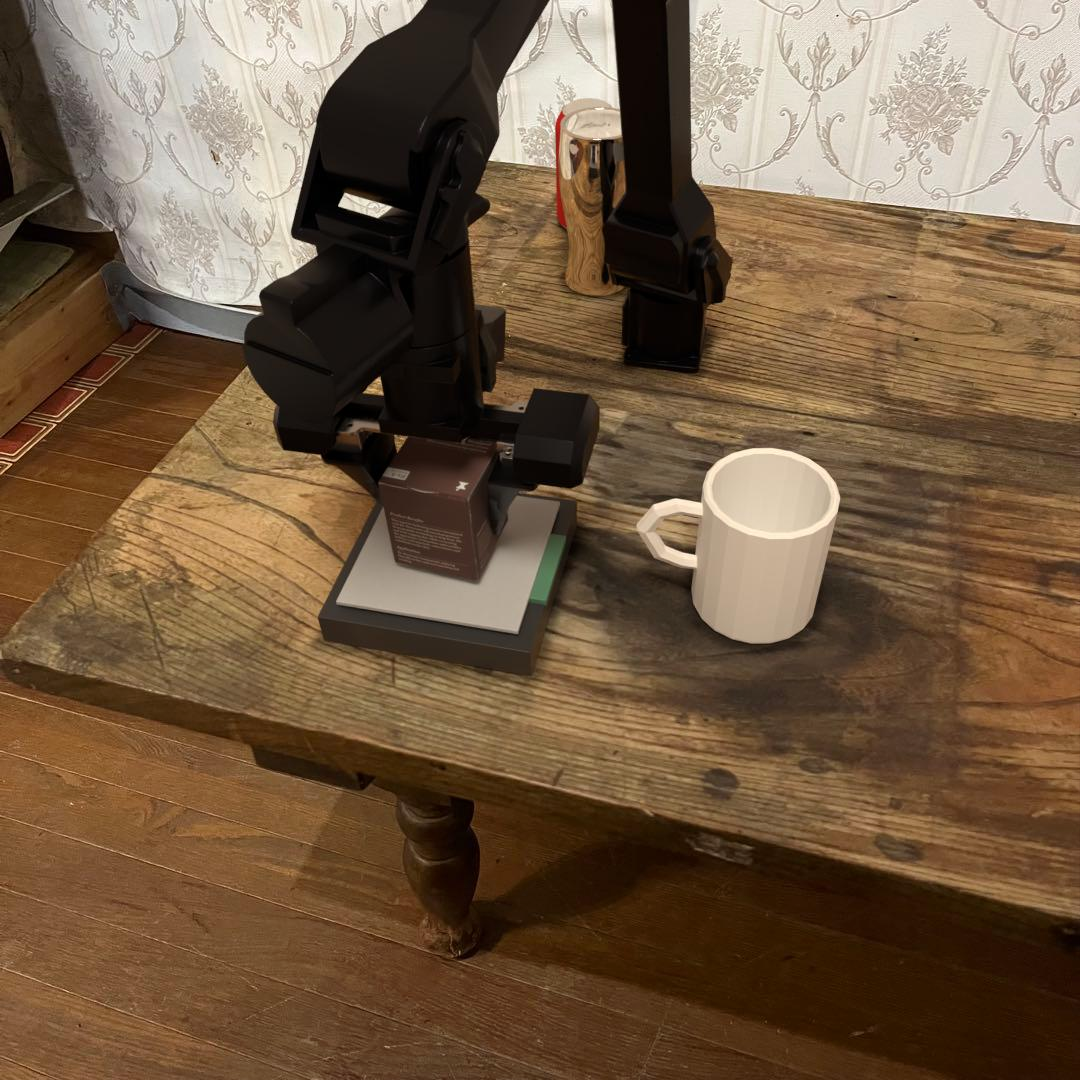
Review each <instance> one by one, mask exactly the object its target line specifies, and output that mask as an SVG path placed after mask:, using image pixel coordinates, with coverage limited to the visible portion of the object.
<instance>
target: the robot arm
mask: <svg viewBox="0 0 1080 1080" xmlns="http://www.w3.org/2000/svg"><path fill="white" fill-rule="evenodd" d="M550 1H551V0H426V2H425V3H424V4H423V6H422V7H421V9H420V10H418V12H417V13H416V14H415V16H414V17H413V18H412V19H411V20H410V21H409V22H407V23H406V24H404V25H402V26H400V27H399V28H397V29H395V30H393V31H390V32H389V33H386V34H385V35H383V36H381V37H380V38H377V39H376V40H374V41H372V42H370V43H369V44H367V45H366V46H365V47H364V48H363V49H362V50H361V51H360V53H358V55H357V56H355V58H354V59H353V60H352V61H351V62H350V64H349V65H348V66H347V67H346V68H345V69H344V70H343V72H342V73H341V74H340V75H339V76H338V77H337V78H336V80H335V81H333V83H332V84H331V86H330V87H329V88H328V90H327V91H326V93H325V95H324V97H323V99H322V101H321V104H320V105H319V108H318V111H317V115H316V118H315V128H314V132H313V137H312V140H311V144H310V148H309V153H308V157H307V162H306V166H305V170H304V174H303V178H302V182H301V186H300V191H299V195H298V199H297V204H296V207H295V212H294V215H293V219H292V223H291V224H292V225H291V228H290V236H291V238H292V239H293V240H296V241H299V242H303V243H306V244H309V245H311V246H315V251H316V256H314V257H313V258H311V259H310V260H308V261H307V262H306V263H304V264H303V265H301V266H300V267H298V268H297V269H296V270H294V271H293V272H291V273H289V274H288V275H285V276H282V277H279V278H277V279H275V280H274V281H272V282H270V283H269V284H267V285H266V286H265V287H263V288H262V289H260V291H259V295H258V298H259V303H260V306H261V310H262V311H261V312H260V313H258V314H257V315H255V316H253V318H252V319H250V320H249V322H248V323H247V324H246V327H245V330H244V332H243V334H244V335H243V343H242V344H241V351H242V356H243V359H244V361H245V364H246V366H247V368H248V370H249V372H250V374H251V375H252V377H253V379H254V381H255V383H256V384H257V385H258V386H259V388H260V389H261V390H262V392H263V393H264V394H265V395H266V396H267V397H268V398H269V399H270V400H271V401H272V403H274V404H275V407H274V412H273V419H272V425H273V428H274V432H275V435H276V436H275V437H276V439H277V442H278V444H279V446H280V448H281V449H282V450H283V451H288V452H293V453H300V454H301V453H302V454H309V455H315V456H317V455H318V456H320V458H321V461H322V462H323V463H324V464H325V465H328V466H333V467H336V468H337V469H338V470H339V471H341V473H344V474H345V475H346V476H347V477H348V478H350V479H351V480H352V481H354V482H355V483H356V484H357V485H359V486H360V487H361V488H362V489H363V490H365V491H366V493H368V494H369V495H370V496H371V497H372V498H373V499H374V500H375V501H376V500H377V501H378V502H379V503H380V504H381V505H382V506H383V503H382V499H381V492H380V489H379V485H378V482H379V480H380V479H381V477H382V476H383V474H384V472H385V471H386V469H387V468H388V466H389V465H390V463H391V462H392V460H393V459H394V457H395V456H396V454H397V453H398V449H397V444H396V439H395V436H400V437H406V438H407V437H414V438H422V439H429V440H437V441H445V442H452V443H460V444H465V443H467V442H468V440H469V439H474V440H482V441H489V442H497V452H499V453H498V455H497V458H496V460H495V463H494V465H493V468H492V470H491V473H490V475H489V478H488V480H487V489H488V503H489V518H490V526H491V529H492V531H493V534H495V535H499V534H500V532H501V529H502V526H503V524H504V521H505V518H506V515H507V512H508V509H509V506H510V505H511V503H512V502H513V500H514V499H515V497H516V496H517V494H518V493H521V492H524V493H531V492H534V491H535V490H537V489H538V488H539V486H546V487H553V488H559V489H569V490H572V489H575V488H577V487H578V486H581V485H583V484H584V481H585V477H586V475H587V471H588V468H589V464H590V461H591V458H592V454H593V451H594V448H595V444H596V441H597V439H598V434H599V432H600V429H601V428H600V424H601V423H600V421H601V417H600V415H601V407H600V405H599V404H598V403H597V401H596V400H595V399H594V397H592V395H590V394H589V393H580V392H572V391H565V390H555V389H546V388H537V387H533V389H532V391H531V394H530V396H529V399H528V401H525V400H518V401H516V402H513V403H512V404H510V405H508V406H507V405H499V404H490V403H485V402H484V393H492V392H493V391H494V388H495V386H496V383H497V369H496V368H497V367H496V365H497V364H498V363H499V362H503V361H504V360H505V354H506V353H505V351H506V350H505V349H506V325H507V310H506V309H505V308H504V307H501V306H496V305H489V304H488V305H487V304H479V303H478V304H477V303H476V301H475V291H474V290H475V289H474V279H473V268H472V256H471V244H470V237H469V236H470V234H469V228H470V227H471V226H472V225H473V224H474V223H476V222H477V221H479V220H480V219H481V218H482V217H484V216H485V215H486V214H487V213H488V212H489V211H490V209H491V201H490V200H489V199H488V198H487V197H484V196H482V195H481V194H479V193H477V190H478V188H479V186H480V184H481V182H482V179H483V176H484V174H485V171H486V169H487V165H488V162H489V160H490V158H491V157H492V155H493V154H492V153H493V151H494V149H495V147H496V145H497V142H498V140H499V137H500V134H501V133H500V117H499V103H498V102H499V101H498V100H499V99H498V93H499V91H500V89H501V86H502V84H503V83H504V80H505V78H506V76H507V73H508V72H509V70H510V68H511V66H512V65H513V64H514V61H515V60H516V59H517V56H518V54H519V53H520V51H521V50H522V48H523V46H524V44H525V43H526V42H527V39H528V37H529V36H530V34H531V33H532V31H533V29H534V28H535V26H536V25H537V23H538V21H539V19H540V18H541V16H542V14H543V12H544V11H545V9H546V8H547V6H548V4H549V3H550ZM610 1H611V15H612V25H613V26H612V27H613V37H614V38H613V39H614V52H615V53H614V54H615V66H616V67H615V68H616V79H617V94H618V106H619V107H618V109H620V121H621V135H622V148H623V161H624V175H625V193H624V194H623V196H622V198H621V199H620V201H619V202H618V204H617V205H616V207H615V208H614V210H613V212H612V213H611V215H610V216H609V218H608V220H607V221H606V222H605V224H604V225H603V227H602V233H603V237H604V243H605V255H604V263H606V264H608V267H609V271H610V276H611V280H612V284H613V285H616V286H619V285H620V286H623V287H624V288H627V290H626V293H625V296H624V299H623V302H622V306H621V332H620V333H621V335H620V344H621V346H623V347H625V349H624V353H623V356H622V362H623V364H624V365H628V366H636V367H645V368H654V369H663V370H671V371H681V372H689V373H696V372H699V371H700V368H701V363H702V358H703V353H704V349H705V344H706V341H707V335H708V327H707V326H706V322H707V314H708V313H707V312H708V308H709V307H710V306H711V305H712V306H714V305H716V304H722V303H724V302H725V300H726V296H727V287H728V285H729V281H730V279H731V277H732V273H731V272H732V268H733V264H734V260H733V258H732V257H731V255H730V254H729V253H728V251H727V250H726V249H725V247H724V246H723V245H722V244H721V242H720V240H718V239H717V228H716V219H715V218H716V217H715V209H714V206H713V205H712V203H711V202H710V200H709V199H708V197H707V196H706V195H705V193H704V192H703V190H702V188H701V187H700V186H699V185H698V183H697V181H696V180H695V178H694V177H693V166H692V165H693V162H692V160H693V159H692V158H693V156H692V154H693V153H692V91H691V87H692V86H691V83H692V82H691V80H692V79H691V22H690V21H691V19H690V18H691V15H690V14H691V11H690V8H691V7H690V0H610ZM345 194H348V195H350V196H353V197H357V198H360V199H364V200H366V201H370V202H374V203H378V204H380V205H385V206H388V207H390V209H388V210H386V212H384V213H382V214H381V215H380V216H378V217H376V216H374V215H373V216H372V215H369V214H366V213H362V212H359V211H355V210H352V209H349V208H347V207H346V208H345V207H343V206H339V205H340V204H341V201H342V199H343V198H344V195H345ZM379 377H380V383H381V389H382V394H373V393H367V392H366V391H367V389H368V388H369V386H370V385H372V384H373V383H374V382H375V381H377V379H378V378H379ZM365 392H366V393H365Z"/></svg>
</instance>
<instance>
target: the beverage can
mask: <svg viewBox="0 0 1080 1080" xmlns="http://www.w3.org/2000/svg"><path fill="white" fill-rule="evenodd" d="M590 107H610V108H613V106H612V105H611V104H610V103H608V102H607V101H606V100H603V99H599V98H593V97H586V98H585V97H584V98H577V99H574V100H571V101H570V102H569V101H568V103H567V104H565V105H564V106H563V107H562V108H561V110H560V111H559V114H558V116H557V118H556V121H555V124H554V125H555V126H554V137H555V138H554V139H555V140H554V141H555V183H556V184H555V188H556V192H555V193H556V217H557V221H558V222H559V224H560V225H561V226H562V228H564V229H565V230H567V225H566V221H565V216H564V210H563V205H562V200H561V193H560V186H559V146H560V132H561V125H560V124H561V120H562V119H563V118H564V117H565V116H566V115H567V114H569V113H571V112H573V111H576V110H580V109H584V108H590Z"/></svg>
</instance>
